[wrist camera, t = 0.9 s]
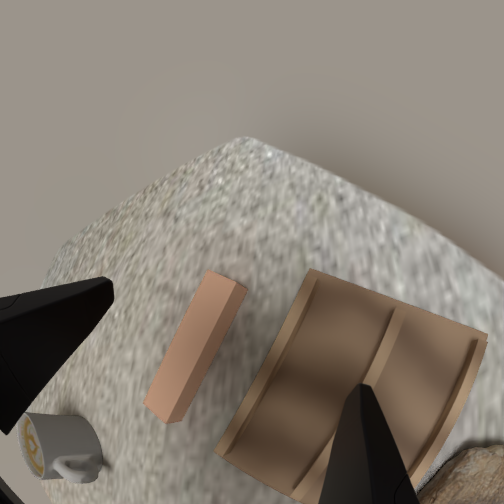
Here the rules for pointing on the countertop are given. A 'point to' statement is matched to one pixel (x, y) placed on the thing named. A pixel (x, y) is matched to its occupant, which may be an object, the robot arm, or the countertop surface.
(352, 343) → the rack
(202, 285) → the clay strip
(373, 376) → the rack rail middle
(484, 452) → the brown rock
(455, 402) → the rack rail
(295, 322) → the rack rail
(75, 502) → the countertop surface
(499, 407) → the countertop surface
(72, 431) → the coffee mug
